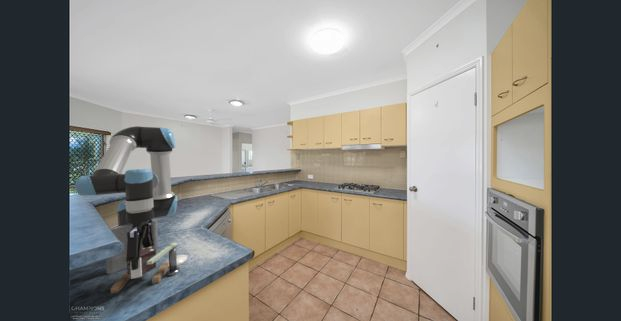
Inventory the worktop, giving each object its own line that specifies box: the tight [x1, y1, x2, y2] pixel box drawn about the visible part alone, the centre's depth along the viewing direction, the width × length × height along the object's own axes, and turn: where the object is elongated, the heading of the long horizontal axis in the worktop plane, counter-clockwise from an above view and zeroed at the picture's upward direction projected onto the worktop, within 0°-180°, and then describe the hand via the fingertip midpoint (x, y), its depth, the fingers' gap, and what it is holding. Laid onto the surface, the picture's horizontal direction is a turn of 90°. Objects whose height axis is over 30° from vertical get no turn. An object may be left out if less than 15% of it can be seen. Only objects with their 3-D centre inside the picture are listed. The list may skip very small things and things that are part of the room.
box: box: [126, 247, 157, 276], centre depth 68 cm, size 6×6×7 cm
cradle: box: [110, 263, 169, 295], centre depth 68 cm, size 10×13×2 cm
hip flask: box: [105, 218, 159, 275], centre depth 78 cm, size 16×4×20 cm, turn 138°
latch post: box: [165, 247, 181, 277], centre depth 71 cm, size 4×4×10 cm
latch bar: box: [147, 242, 178, 265], centre depth 66 cm, size 3×14×1 cm, turn 8°
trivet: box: [161, 254, 188, 269], centre depth 79 cm, size 9×9×1 cm
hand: (142, 270), depth 68 cm, fingers closed on box, 8 cm apart
